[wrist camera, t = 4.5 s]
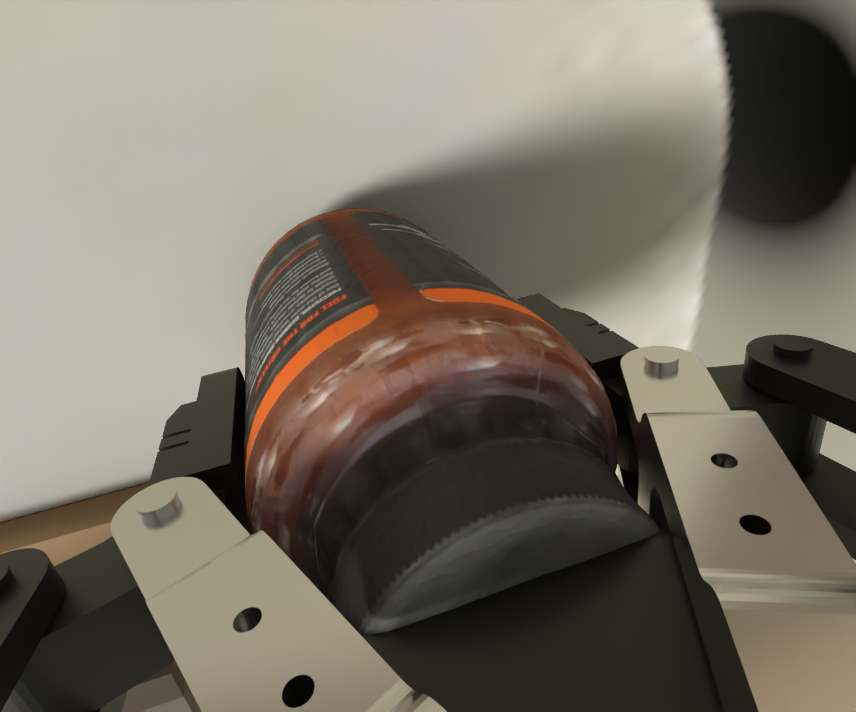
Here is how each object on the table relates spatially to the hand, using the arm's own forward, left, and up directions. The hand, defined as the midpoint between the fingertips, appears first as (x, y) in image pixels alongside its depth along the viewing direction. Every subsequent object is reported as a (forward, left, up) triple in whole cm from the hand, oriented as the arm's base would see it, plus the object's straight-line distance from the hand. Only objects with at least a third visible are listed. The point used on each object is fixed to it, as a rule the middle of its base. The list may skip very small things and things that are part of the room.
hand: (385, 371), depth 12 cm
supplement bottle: (0, 0, -4) cm, 4 cm away
